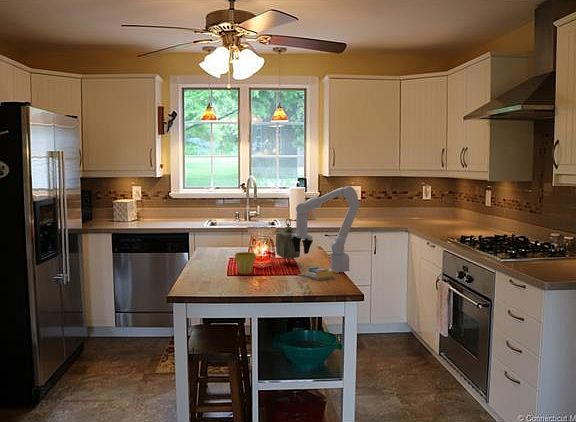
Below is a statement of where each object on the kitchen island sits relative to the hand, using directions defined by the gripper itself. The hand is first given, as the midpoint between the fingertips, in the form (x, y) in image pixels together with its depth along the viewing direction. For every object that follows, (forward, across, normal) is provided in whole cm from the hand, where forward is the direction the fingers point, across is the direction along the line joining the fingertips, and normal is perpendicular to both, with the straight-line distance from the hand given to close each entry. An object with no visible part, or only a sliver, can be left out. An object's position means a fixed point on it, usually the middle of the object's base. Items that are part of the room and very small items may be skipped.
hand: (301, 252), depth 276 cm
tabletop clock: (+10, -20, +6) cm, 23 cm away
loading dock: (+9, +15, -4) cm, 18 cm away
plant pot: (+10, -13, -26) cm, 31 cm away
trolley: (+8, +18, -4) cm, 20 cm away
